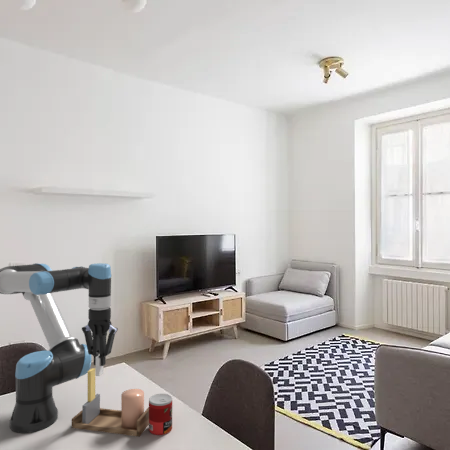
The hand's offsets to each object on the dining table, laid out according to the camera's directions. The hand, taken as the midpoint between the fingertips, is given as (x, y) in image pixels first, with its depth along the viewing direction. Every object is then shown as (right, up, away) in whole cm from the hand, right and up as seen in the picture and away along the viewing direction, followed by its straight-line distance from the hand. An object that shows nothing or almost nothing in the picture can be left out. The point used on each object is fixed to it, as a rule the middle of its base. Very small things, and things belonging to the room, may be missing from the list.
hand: (99, 374), depth 132 cm
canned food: (+22, -18, -5) cm, 29 cm away
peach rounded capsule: (+12, -17, -3) cm, 21 cm away
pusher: (-3, -17, +1) cm, 17 cm away
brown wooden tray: (+5, -17, -1) cm, 18 cm away
